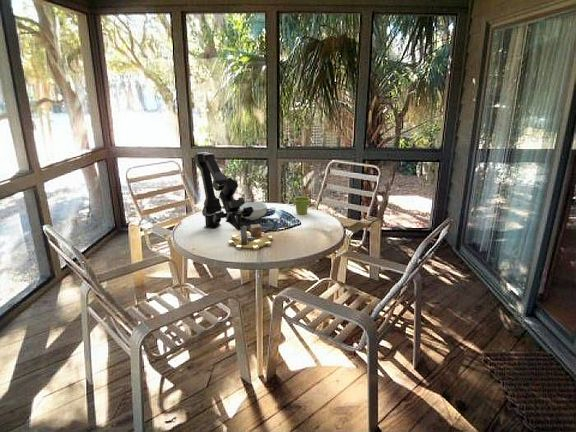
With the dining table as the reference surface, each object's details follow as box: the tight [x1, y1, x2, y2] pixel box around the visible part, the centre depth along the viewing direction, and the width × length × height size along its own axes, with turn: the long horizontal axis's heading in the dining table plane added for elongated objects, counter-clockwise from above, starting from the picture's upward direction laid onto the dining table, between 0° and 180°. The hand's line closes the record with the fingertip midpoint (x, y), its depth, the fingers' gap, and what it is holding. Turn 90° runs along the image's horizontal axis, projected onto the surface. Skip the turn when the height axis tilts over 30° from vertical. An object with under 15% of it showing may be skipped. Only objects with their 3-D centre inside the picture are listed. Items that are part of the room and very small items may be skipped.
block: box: [249, 223, 263, 236], centre depth 190 cm, size 4×4×4 cm
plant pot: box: [293, 196, 311, 215], centre depth 227 cm, size 9×9×9 cm
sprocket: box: [228, 225, 274, 251], centre depth 184 cm, size 21×21×10 cm
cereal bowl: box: [238, 201, 268, 221], centre depth 220 cm, size 17×17×7 cm
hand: (239, 230), depth 178 cm, fingers closed
